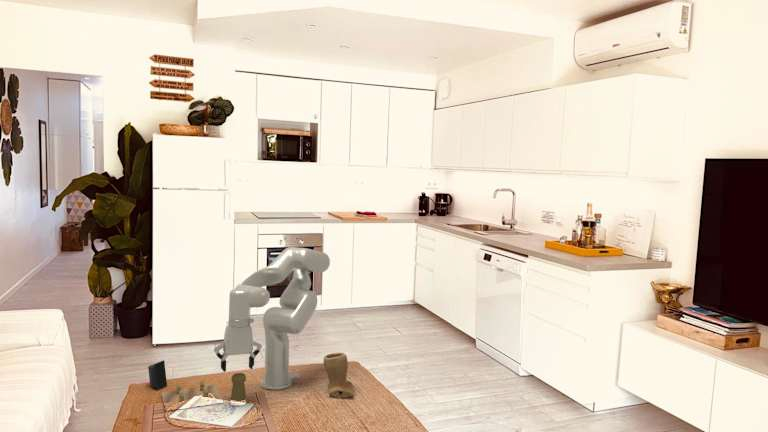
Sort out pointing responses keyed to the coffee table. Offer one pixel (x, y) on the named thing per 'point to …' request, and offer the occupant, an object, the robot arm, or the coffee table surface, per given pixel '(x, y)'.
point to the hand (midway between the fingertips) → (237, 369)
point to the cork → (238, 387)
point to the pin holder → (190, 393)
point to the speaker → (157, 375)
